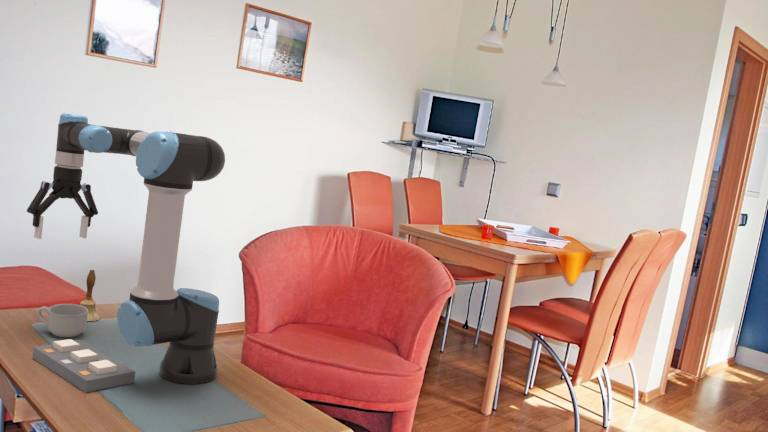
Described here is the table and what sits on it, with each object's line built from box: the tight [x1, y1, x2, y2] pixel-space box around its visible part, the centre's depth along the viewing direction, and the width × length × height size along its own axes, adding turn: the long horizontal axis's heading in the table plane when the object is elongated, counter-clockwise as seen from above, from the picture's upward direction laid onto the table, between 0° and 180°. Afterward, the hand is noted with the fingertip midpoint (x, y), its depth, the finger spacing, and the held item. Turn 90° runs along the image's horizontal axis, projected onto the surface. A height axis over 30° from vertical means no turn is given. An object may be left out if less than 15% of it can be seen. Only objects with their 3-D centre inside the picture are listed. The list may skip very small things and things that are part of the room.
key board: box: [32, 339, 136, 394], centre depth 176 cm, size 27×13×3 cm, turn 52°
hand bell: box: [79, 269, 101, 322], centre depth 218 cm, size 8×8×16 cm
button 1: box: [52, 338, 80, 353], centre depth 181 cm, size 5×5×2 cm
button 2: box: [88, 360, 117, 375], centre depth 171 cm, size 5×5×2 cm
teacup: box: [36, 303, 88, 338], centre depth 200 cm, size 14×11×8 cm
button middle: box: [70, 349, 98, 364], centre depth 176 cm, size 5×5×2 cm
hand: (60, 237), depth 201 cm, fingers open, 13 cm apart
